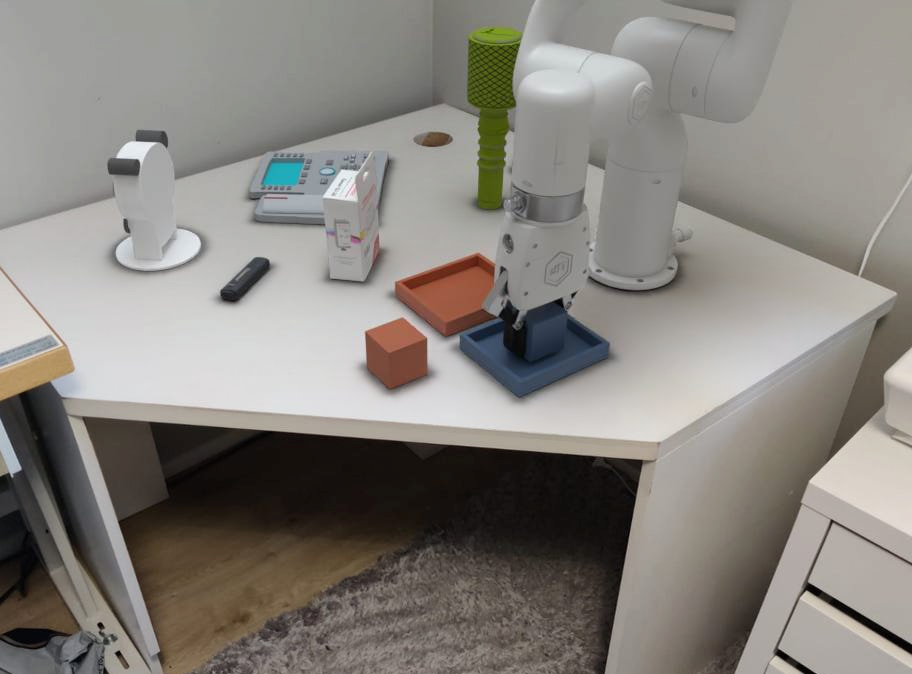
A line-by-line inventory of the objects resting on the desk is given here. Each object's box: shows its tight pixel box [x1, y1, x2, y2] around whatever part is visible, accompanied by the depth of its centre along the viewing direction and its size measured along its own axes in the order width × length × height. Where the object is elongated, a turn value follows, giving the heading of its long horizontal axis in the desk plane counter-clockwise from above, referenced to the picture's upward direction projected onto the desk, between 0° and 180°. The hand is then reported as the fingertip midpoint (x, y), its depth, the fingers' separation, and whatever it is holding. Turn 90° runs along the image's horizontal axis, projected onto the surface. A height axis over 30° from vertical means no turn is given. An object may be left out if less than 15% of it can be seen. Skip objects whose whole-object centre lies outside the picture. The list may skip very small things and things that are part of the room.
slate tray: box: [459, 313, 611, 398], centre depth 103 cm, size 13×11×2 cm
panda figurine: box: [106, 129, 202, 272], centre depth 118 cm, size 12×11×15 cm
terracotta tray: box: [394, 252, 505, 337], centre depth 112 cm, size 13×11×2 cm
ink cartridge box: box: [322, 152, 381, 282], centre depth 114 cm, size 9×5×15 cm, turn 168°
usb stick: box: [219, 256, 271, 301], centre depth 115 cm, size 10×3×2 cm, turn 160°
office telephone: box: [249, 150, 390, 225], centre depth 136 cm, size 23×3×20 cm
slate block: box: [503, 301, 569, 362], centre depth 101 cm, size 5×5×5 cm
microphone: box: [466, 26, 524, 210], centre depth 125 cm, size 8×8×25 cm
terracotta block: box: [364, 316, 428, 390], centre depth 99 cm, size 5×5×5 cm
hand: (533, 341), depth 102 cm, fingers closed on slate block, 5 cm apart
